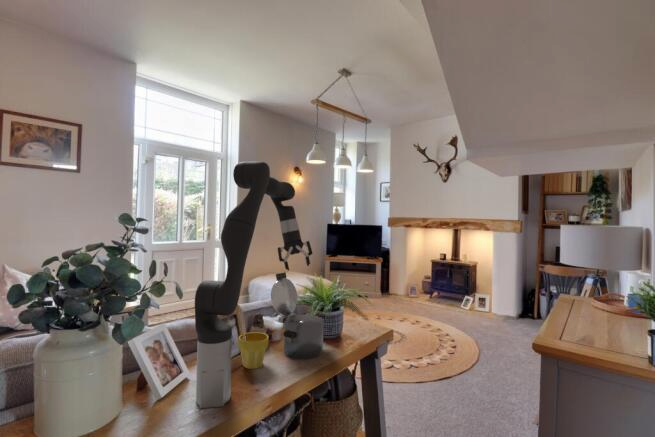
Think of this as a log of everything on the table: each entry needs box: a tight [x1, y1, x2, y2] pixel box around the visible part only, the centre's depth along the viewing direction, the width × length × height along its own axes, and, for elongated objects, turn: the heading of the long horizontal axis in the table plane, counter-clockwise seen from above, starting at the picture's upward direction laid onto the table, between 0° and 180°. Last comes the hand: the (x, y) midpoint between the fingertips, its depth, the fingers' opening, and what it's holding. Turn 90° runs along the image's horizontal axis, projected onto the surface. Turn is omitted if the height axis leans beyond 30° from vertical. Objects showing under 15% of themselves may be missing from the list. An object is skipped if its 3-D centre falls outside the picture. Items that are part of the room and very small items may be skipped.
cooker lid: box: [270, 271, 298, 317], centre depth 139 cm, size 17×15×2 cm
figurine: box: [249, 312, 267, 334], centre depth 141 cm, size 7×7×12 cm
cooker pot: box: [277, 312, 324, 360], centre depth 133 cm, size 17×20×12 cm
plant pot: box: [237, 331, 270, 370], centre depth 120 cm, size 10×10×10 cm
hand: (298, 268), depth 146 cm, fingers open, 8 cm apart
